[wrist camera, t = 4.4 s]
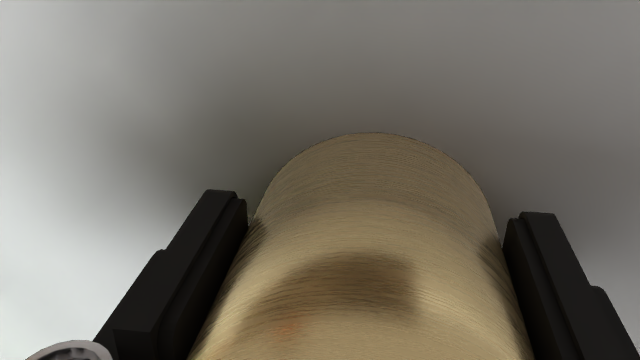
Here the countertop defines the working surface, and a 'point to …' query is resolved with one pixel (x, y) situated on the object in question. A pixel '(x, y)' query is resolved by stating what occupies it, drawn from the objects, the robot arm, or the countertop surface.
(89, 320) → the countertop surface
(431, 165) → the bushing
